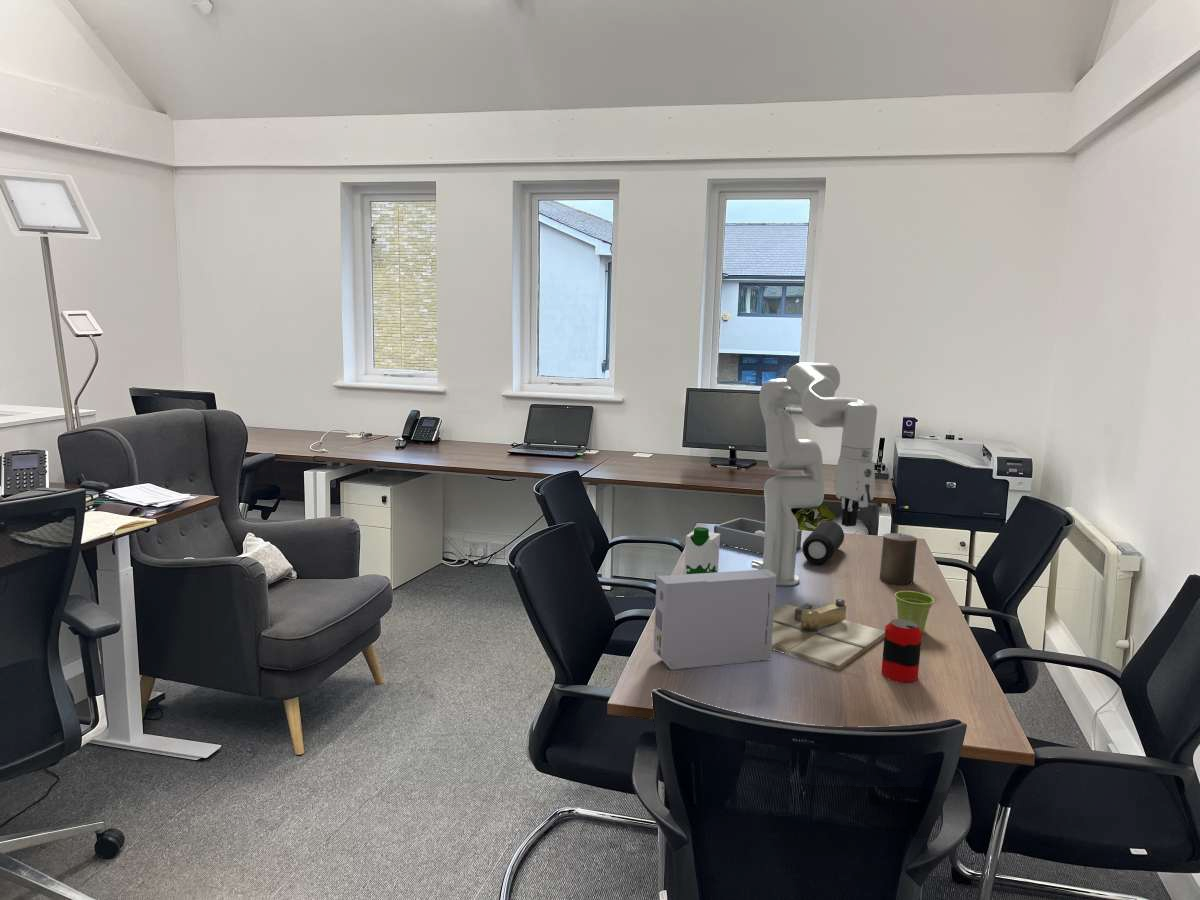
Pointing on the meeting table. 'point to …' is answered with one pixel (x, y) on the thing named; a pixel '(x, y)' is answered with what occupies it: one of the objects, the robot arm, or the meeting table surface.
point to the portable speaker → (823, 542)
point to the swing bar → (823, 616)
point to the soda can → (901, 651)
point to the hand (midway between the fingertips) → (848, 525)
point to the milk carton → (702, 551)
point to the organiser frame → (745, 534)
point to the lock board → (821, 638)
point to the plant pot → (914, 607)
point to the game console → (714, 618)
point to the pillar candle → (898, 558)
